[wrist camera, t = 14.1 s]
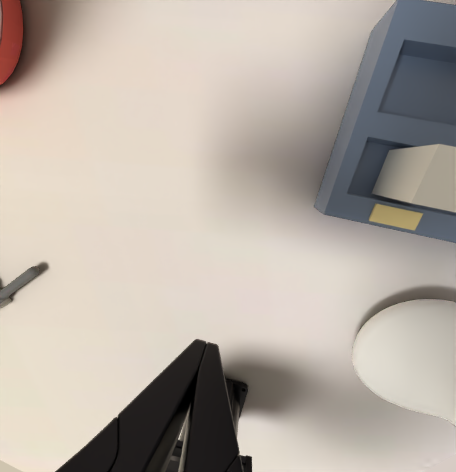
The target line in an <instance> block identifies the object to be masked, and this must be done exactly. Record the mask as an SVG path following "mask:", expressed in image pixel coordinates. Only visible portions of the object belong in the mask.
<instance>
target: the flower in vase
mask: <svg viewBox="0 0 456 472" xmlns="http://www.w3.org/2000/svg"><path fill="white" fill-rule="evenodd" d="M352 363H353V367H354V370H355V372H356V374H357V375H358V377H359V378H360V380H361V381H362V382H363V383H364V384H365V385H366V386H367V387H368V388H369V389H370V390H371V391H372V392H373V393H374V394H376V395H377V396H379V397H380V398H382V399H384V400H386V401H388V402H390V403H393V404H395V405H397V406H400V407H402V408H405V409H408V410H412V411H416V412H419V413H423V414H428V415H432V416H437V417H440V418H443V419H445V420H447V421H449V422H450V423H452V424H453V425H454V426H456V302H453V301H447V300H437V299H419V300H411V301H406V302H402V303H398V304H395V305H393V306H390V307H388V308H386V309H384V310H382V311H380V312H379V313H377V314H376V315H374V316H373V317H372V318H371V319H369V320H368V321H367V322H366V323H365V324H364V325H363V327H362V328H361V330H360V331H359V333H358V335H357V337H356V339H355V342H354V345H353V349H352Z"/></svg>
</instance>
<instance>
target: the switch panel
mask: <svg viewBox="0 0 456 472" xmlns="http://www.w3.org/2000/svg"><path fill="white" fill-rule="evenodd" d="M435 144H443V145H448V146H453V147H456V5H452V4H445V3H438V2H431V1H424V0H397V1H396V2H395V3H394V4H393V5H392V7H391V8H390V9H389V10H388V11H387V13H386V14H385V15H384V16H383V18H382V19H381V20H380V21H379V22H378V24H377V25H376V26H375V27H374V28H373V30H372V31H371V35H370V38H369V41H368V44H367V47H366V50H365V53H364V56H363V59H362V62H361V65H360V68H359V71H358V74H357V77H356V80H355V83H354V86H353V89H352V92H351V95H350V98H349V101H348V104H347V108H346V111H345V114H344V117H343V120H342V123H341V126H340V129H339V132H338V135H337V138H336V141H335V144H334V147H333V150H332V153H331V156H330V159H329V162H328V165H327V168H326V171H325V174H324V178H323V181H322V184H321V187H320V190H319V193H318V196H317V199H316V202H315V205H314V207H315V208H316V209H317V210H319V211H320V212H321V213H323V214H325V215H329V216H334V217H338V218H343V219H348V220H352V221H357V222H361V223H366V224H371V225H375V226H380V227H385V228H389V229H394V230H398V231H403V232H408V233H412V234H417V235H421V236H426V237H431V238H435V239H440V240H445V241H449V242H454V243H456V212H451V211H446V210H441V209H437V208H432V207H427V206H422V205H417V204H413V203H408V202H404V201H400V200H396V199H392V198H388V197H384V196H379V195H375V194H371V193H372V191H373V188H374V186H375V184H376V181H377V179H378V176H379V174H380V171H381V169H382V166H383V164H384V162H385V159H386V157H387V154H388V152H389V150H395V149H403V148H411V147H419V146H427V145H435Z"/></svg>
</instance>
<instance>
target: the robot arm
mask: <svg viewBox="0 0 456 472" xmlns="http://www.w3.org/2000/svg"><path fill="white" fill-rule="evenodd" d="M247 392H248V386H247V385H246V384H244V383H241V382H237V381H234V380H230V379H226V378H225V377H224V372H223V367H222V362H221V357H220V352H219V347H218V345H217V344H214V343H210V342H208V343H206V341H203V340H199V339H196V340H194V341H193V342H192V343H191V344H190V345H189V346H188V347H187V348H186V349H185V350H184V351H183V352H182V353H181V354H180V355H179V356H178V357H177V358H176V359H175V360H174V361H173V362H172V363H171V364H170V365H169V366H168V367H167V368H166V369H165V370H163V371H162V372H161V373H160V374H159V375H158V376H157V377H156V378H155V379H154V380H153V381H152V382H151V383H150V384H149V385H148V386H147V387H146V388H145V389H144V390H143V391H142V392H141V393H140V394H139V395H138V396H137V397H136V398H135V399H134V400H133V401H132V402H131V403H130V404H129V405H128V406H127V407H126V408H125V409H123V410H122V411H121V412H120V413H119V414H118V418H117V417H115V418H114V419H113V420H112V421H111V422H110V423H109V424H108V425H107V426H106V427H105V428H104V429H103V430H102V431H101V432H100V433H98V434H97V435H96V436H95V437H94V438H93V439H92V440H91V441H90V442H89V443H88V444H87V445H86V446H84V447H83V448H82V449H81V450H80V451H79V452H78V453H76V454H75V455H74V456H73V457H72V458H71V459H69V460H68V461H67V462H66V463H65V464H64V465H62V466H61V467H60V468H59V469H58V470H57V471H55V472H252V457H251V456H247V455H246V457H245V456H241V455H239V453H240V452H239V447H238V442H237V432H238V420H239V417H240V414H241V411H242V408H243V405H244V402H245V398H246V395H247ZM184 422H185V423H184ZM183 425H184V426H183ZM182 427H183V429H182ZM181 430H182V433H181V436H180V440H178V438H179V435H180V432H181Z"/></svg>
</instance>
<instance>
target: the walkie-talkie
mask: <svg viewBox="0 0 456 472" xmlns="http://www.w3.org/2000/svg"><path fill="white" fill-rule="evenodd" d="M38 274H39V268H38V267H36V266H35V267H31V268H29V269H28V270H27V271H25V272H24V273H23V274H21V275H20V276H19V277H18V278H16V279H15V280H14V281H12V282H11V283H10V284H8V285H7V286H6V287H4V288H3V289H2V290H1V289H0V308H2V307H4V306H6V305H8V304H9V303H10V302H11V301H12V300H11V299H10V298H9V296H10V295H11V294H12V293H14V292H15V291H17V290H18V289H19V288H21V287H22V286H23V285H25V284H26V283H27V282H29V281H30V280H31V279H33V278H34V277H36V276H37V275H38Z"/></svg>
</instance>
